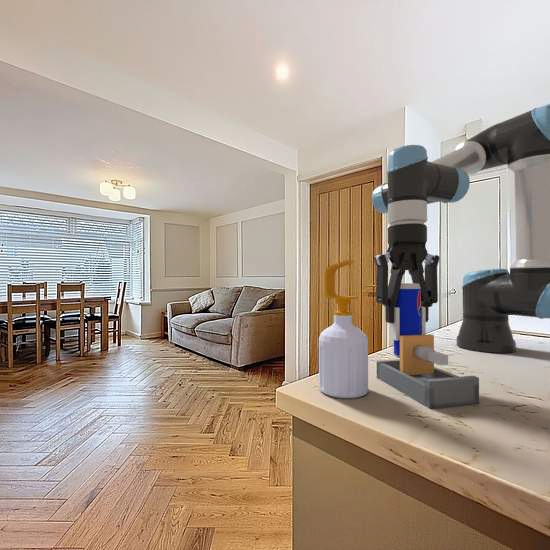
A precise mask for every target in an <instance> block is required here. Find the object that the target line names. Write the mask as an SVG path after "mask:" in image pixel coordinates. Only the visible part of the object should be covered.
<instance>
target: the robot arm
mask: <svg viewBox="0 0 550 550" xmlns="http://www.w3.org/2000/svg"><path fill="white" fill-rule="evenodd" d="M428 159H429V158H428V153H427V149H426V148H425V146H423V145H421V144H407V145H401V146H399V147H397V148H394V149H393V150H392V151H390V152H389V154H388V157H387V168H386V169H387V170H386V175H387V179H386V180H387V182H384V183H382V184H380V185H379V186H377V187H375V189H374V190H373V192H372V195H371V203H372V205H373V208H374V209H375V211H377V213H380V214H387V224H389V225H390V226H388V228H387V244H388V245H387V246H388V248H387V250H386V252H384V253H382V254H377V255H374V258H373V260H374V262H375V267H376V281H375V283H376V284H375V285H376V287H375V292H376V293H375V295H376V296H375V302H376V303H377V304H380V305H382V306H384V308H385V309H384V310H385V311H384V313H385V315H384V316H385V322H386V324H387V323H388V339H390V340H393V341H394V340H396V341H398V340H400V308H398V307H395V306H396V302H397V298H398V294H399V290H400V286H401V283H402V281H403V278H404V277H403V276H404V275H405V273H406V271H408V275H410V278H411V281H412V283H415V284H420V288H421V335H425V334H426V325H427V324H426V323H428V322H429V315H430V314H429V313H430V312H429V311H430V310H429V308H431V307H433V305H434V304H437V303H438V301H439V293H438V291H439V287H438V265H439V262H440V256H439V255H437V254H435V255H433V254H430V253H428V250H427V248H426V245H427V241H428V226H427V224H425V223H427V221H428V205H430V204H434V203H439V202H440V203H444V204H447V203H451V204H452V203H457V202H459V201H461V200H462V199H463V198H464V197H465V196H466V195H467V193H468V191H469V189H470V185H471V184H470V183H471V182H470V176H471V175H475V174H477V173H479V172H481V171H484V170H488V169H492V168H497V167H502V166H505V165H507V169H508V170H510V171H511V172H513V174H514V208H515V209H514V210H515V211H514V212H515V214H514V215H515V253H516V254H515V255H516V256H515V257H516V259H515V262H514V263H512V264H511V265H510V267H509V270H508V269H507V268H494V269H492V268H491V269H483V270H481V269H480V270H476V271H469V272H467V273H466V274H464V275H463V278H462V285H461V289H462V322H461V325H460V328H459V331H458V335H457V336H456V346H458V347H459V348H463V349H466V350H471V351H478V352H485V353H494V354H495V353H497V354H498V353H501V354H502V353H505V354H506V353H507V354H508V353H513V352H516V351H517V343H516V340H515V339H514V337H513V331H512V329H511V327H510V322H509V321H510V319H509V315H510V316H516V317H517V316H518V317H519V316H520V317H529V318H538V319H539V320H540V319H541V320H542V319H550V103H548V104H544V105H542V106H539V107H534V108H533V109H531V110H528V111H526V112H523V113H522V114H519V115H517V116H513V117H511V118H508V119H506V120H504V121H501V122H498V123H496V124H494V125H491V126H489V127H487V128H486V129H484V130H482V131H481V132H479V133H477V134H475V135H473V136H472V137H471V138H469V139H467V140H465V141H463V142H461V143H459V144H458V145H457V146H456V147H455V149H454V150H453V151H451V152H449V153H446V154H445V155H442V156H441V157H439V158H437V159H434V160H432V161H428ZM389 262H390V263H391V268H390V278H389ZM423 263H424V265H423Z"/></svg>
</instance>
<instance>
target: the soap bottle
mask: <svg viewBox="0 0 550 550" xmlns="http://www.w3.org/2000/svg"><path fill="white" fill-rule="evenodd" d="M354 262H355V261H354V260H353V259H352V260H351V259H347V260H342V261H341V262H337V263H334V264H332V265H329V266H327V267H326V269H324V270H325V271H324V295H325V297H326V298H328V299H330V300H335V304H338V310H335V311H334V315H333V324H331V325H330V326H328V327H326V328H325V329H324V330H322V332H321V333H320V334H319V337H318V388H319V390H320V392H322V393H323V394H324V395H326V396H329V397H333V398H336V399H337V398H338V399H358V398H361V397H363V396H365V395H367V394H368V392H369V339H368V337H367V334H366V333H365V332H363V330H361V329H360V328H358V327H356V326H355V324H353V313H352V311H348V306H349V305H350V304H351V300H356V299H358V296H357V295H356V296H355V295H338V294H336V288H335V287H336V283H335V282H336V281H335V280H336V276H335V275H336V272H337V270H338V269H341V268H343V267H346V266H349V265H352V264H354Z"/></svg>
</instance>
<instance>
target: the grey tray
mask: <svg viewBox="0 0 550 550" xmlns="http://www.w3.org/2000/svg"><path fill="white" fill-rule="evenodd" d="M376 378H377V379H378V380H381V381H382V382H384V383H385V384H387V385H389V386H391V387H393V388H394V389H395V390H397V391H399V392H401V393H402V394H404V395H405V396H407V397H409V398H411V399H413V400H414V401H416V402H418V403H419V404H421V405H422V406H424V407H426V408H428V409H439V408H450V407H461V406H471V405H480V377H478V376H475V375H465V376H460V375H457V374H454V373H451V372H449V371H447V370H444V369H442V368H440V367H436V366H434V373H433V374H419V375H407V374H405V373H403V372H401V371H400V358H398V359H397V358H396V359H380V360H379V359H378V360H376Z"/></svg>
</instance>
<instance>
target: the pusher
mask: <svg viewBox="0 0 550 550" xmlns="http://www.w3.org/2000/svg"><path fill="white" fill-rule="evenodd" d="M399 359H400V371H401V372H403V373H405V374H407V375H419V374H433V373H434V367H435V364H436V365H439V366H446V365H449V355H448V354H445V353H441V352H439V351H437V350H435V335H434V334H431V333H429V334H428V333H427V334H425V335H402V336H400V358H399Z"/></svg>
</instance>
